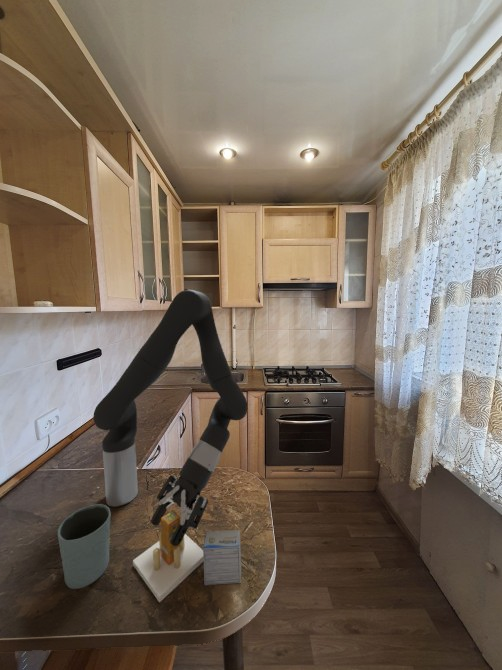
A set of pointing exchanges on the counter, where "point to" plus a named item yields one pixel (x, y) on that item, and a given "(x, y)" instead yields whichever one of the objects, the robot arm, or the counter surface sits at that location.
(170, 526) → the supplement box
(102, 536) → the teal embossed cup
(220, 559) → the medicine box
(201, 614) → the counter surface
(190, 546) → the pin plate
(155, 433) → the counter surface
